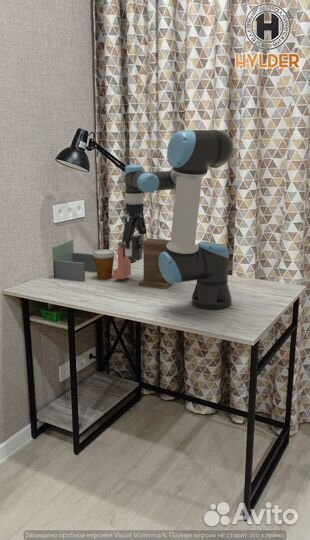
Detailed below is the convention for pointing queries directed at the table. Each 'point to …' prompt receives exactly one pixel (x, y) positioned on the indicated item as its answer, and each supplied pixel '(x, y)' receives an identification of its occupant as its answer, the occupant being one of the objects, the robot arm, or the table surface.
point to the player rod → (127, 257)
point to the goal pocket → (71, 262)
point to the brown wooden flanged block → (153, 264)
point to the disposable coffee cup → (104, 263)
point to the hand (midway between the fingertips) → (135, 252)
